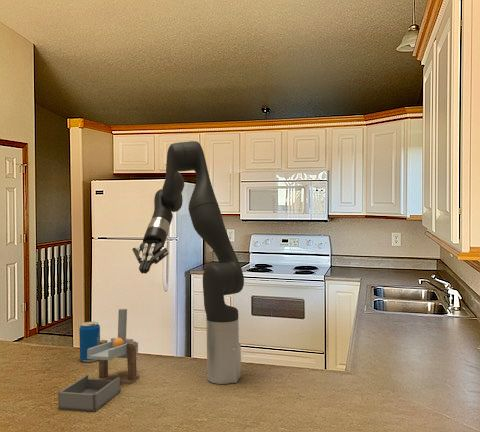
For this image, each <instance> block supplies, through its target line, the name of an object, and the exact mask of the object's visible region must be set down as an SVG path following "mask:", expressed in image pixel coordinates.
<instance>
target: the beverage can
mask: <svg viewBox="0 0 480 432" xmlns="http://www.w3.org/2000/svg"><path fill="white" fill-rule="evenodd" d="M100 341H101V326H100V324H99V322H98V321H86V322H82V323H80V326H79V360H80V361H82V362H83V363H92V362H96V361H99V360H98V359H87V349H89V348H92V347H95V346H98V342H100Z"/></svg>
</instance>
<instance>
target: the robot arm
mask: <svg viewBox="0 0 480 432" xmlns="http://www.w3.org/2000/svg"><path fill="white" fill-rule="evenodd" d="M188 171H194V172H195V177H196V181H195V186H194V189H193V191H192V194H191V196H190V199H189V202H188V207H187V208H188V213H189V217H190V220H191V224H192V227H193V229H194V230H195V231H196V233H197V235H199V237H200V238H201V239H202V240H203V241H204V242H205V243H206V244H207V245H208V246H209V248H210V249H212V251H213V253H214V254H215V256H216V258H217V261H218V262H217V263H211V264H208V265H206V267H205V268H204V270H203V273H202V292H203V306H204V311H205V314H206V315H205V316H206V318H205V319H206V366H207V367H206V370H207V371H206V374H207V375H206V376H207V378H206V379H207V381H208V382H210V383H213V384H217V385H218V384H219V385H226V384H235V383H236V384H237V383H238V382H239V380H240V378H241V377H242V351H241V350H242V347H241V345H242V344H241V343H240V339H239V337H240V334H239V331H240V330H239V329H240V328H239V309H238V308H237V307H235V306H231V305H228V304H226V302H225V296H229V295H235V294H238V293H241V292H242V290H243V289H244V286H245V285H244V284H245V278H244V277H245V275H244V273H243V268H242V266H241V264H240V262H239V259H238V257H237V254H236V252H235V250H234V248H233V245H232V243H231V240H230V238H229V234H228V231H227V229H226V225H225V223H224V219H223V216H222V212H221V209H220V206H219V203H218V202H219V201H218V200H217V197H216V193H215V192H214V188H213V186H212V182H211V179H210V174H209V171H208V166H207V161H206V158H205V153H204V150H203V147H202V145H201V143H199V142H198V141H197V140H195V141H194V140H192V141H191V140H190V141H182V142H174V143H171V144H170V145H169V147H168V148H167V153H166V164H165V179H164V183H163V186H162V188H160V189H158V190H157V191H156V192H155V194H154V199H153V200H154V201H153V203H154V205H153V207H154V210H153V213H152V216H151V219H150V221H149V223H148V225H147V228H146V231H145V233H144V236H143V238H142V243H141V244H140V245H139V246H138V247H133V248H132V252H133V254H134V257H135V259H136V260H137V262H138V264H139V266H138V270H139V272H140V274H148V273H149V272H150V269H151V267H152V265H154V264H156V265H157V264H158V263H159V262H161V261H162V260H163V259H164V258H166V257H167V256H168V255H169V250H168V248H167V247H165V244H166V241H167V238H168V235H169V231H170V226H171V223H172V221H173V215H174V214H173V213H177V212H178V211H180V210H181V209H182V206H183V199H184V198H183V194H182V193H183V191H184V188H185V179H184V177H183V175H182V173H180V172H188ZM141 253H142V255H141V256H140V254H141Z"/></svg>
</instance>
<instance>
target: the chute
mask: <svg viewBox="0 0 480 432" xmlns="http://www.w3.org/2000/svg"><path fill="white" fill-rule="evenodd" d="M117 319H118V320H117V337H116V338H122V339H123V341H124V345H121V346H118V347H116V348H114V347H113V341H114V340H115V339H116V338H115V337H112V338H110V341H107V343H104V344H101V345H98V346H95V347H92V348H89V349H87V359H98V360H97V361H99V360H108V361H112V360H114V359H116V358H117V359H127V343H129V342H130V341H134V339H133V338H127V325H128V324H127V322H128V321H127V320H128V309H127V308H120V309H119V308H118V318H117ZM136 344H137V348H136V357H138V356H139V341H136Z"/></svg>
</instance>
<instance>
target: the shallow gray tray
mask: <svg viewBox="0 0 480 432" xmlns="http://www.w3.org/2000/svg"><path fill="white" fill-rule="evenodd" d="M120 393H121V383H120V377H117V378H116V379H114V380H100V379H98V378H89V374H86V375H84V376H82V377H81V378H79V379H78V380H75V381H74V382H73V383H71V384H69V385H67V386H66V387H65V388H63V389H62V390H60V391H58V392H57V394H58V395H57V399H58V400H57V401H58V404H57V405H58V406H57V407H58V410H70V411H80V412H83V411H84V412H94V413H95V412H97V411H98V410H99V409H101V408H102V407H103V406H104V405H106V404H107V403H108V402H109V401H111V400H112V399H113V398H115V397H116V396H117V395H118V394H120Z"/></svg>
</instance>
